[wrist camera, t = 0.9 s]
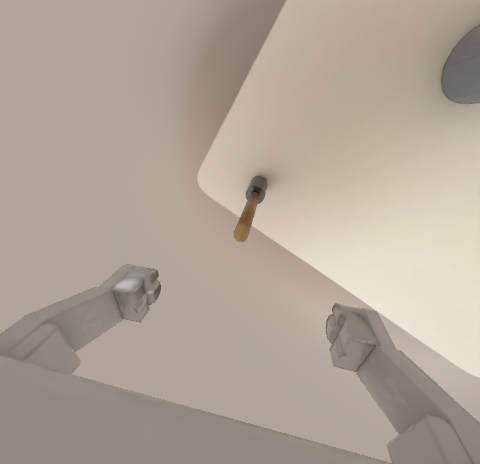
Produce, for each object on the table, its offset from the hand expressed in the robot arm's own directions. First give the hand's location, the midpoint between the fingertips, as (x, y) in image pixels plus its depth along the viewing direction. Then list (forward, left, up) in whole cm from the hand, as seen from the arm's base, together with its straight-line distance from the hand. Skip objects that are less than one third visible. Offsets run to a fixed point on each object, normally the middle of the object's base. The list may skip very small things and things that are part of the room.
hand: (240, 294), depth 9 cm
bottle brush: (-1, -3, -27) cm, 28 cm away
